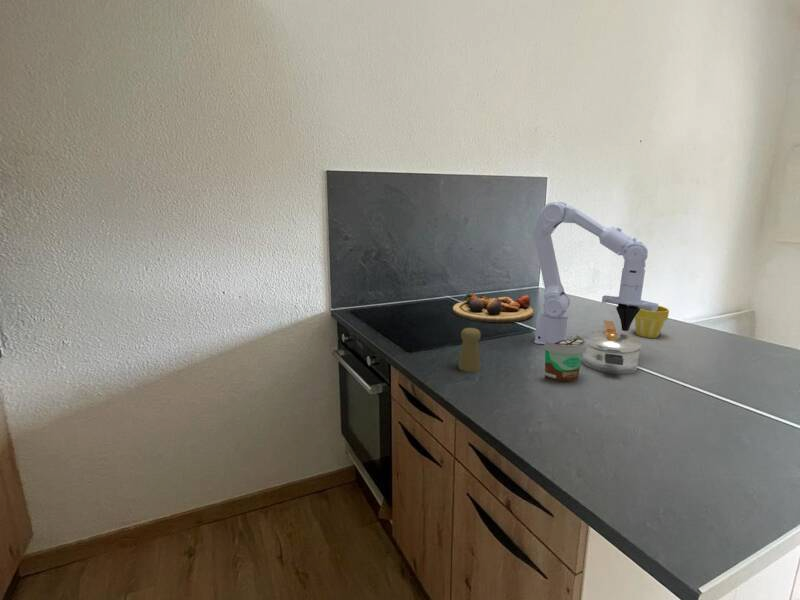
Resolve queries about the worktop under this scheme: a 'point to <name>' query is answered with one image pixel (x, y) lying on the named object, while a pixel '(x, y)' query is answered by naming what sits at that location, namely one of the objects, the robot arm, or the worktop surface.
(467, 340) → the cork
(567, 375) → the food container
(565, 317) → the robot arm
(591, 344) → the lid
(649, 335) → the plant pot
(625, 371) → the cooker pot
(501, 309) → the wooden plate with food
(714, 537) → the worktop surface
